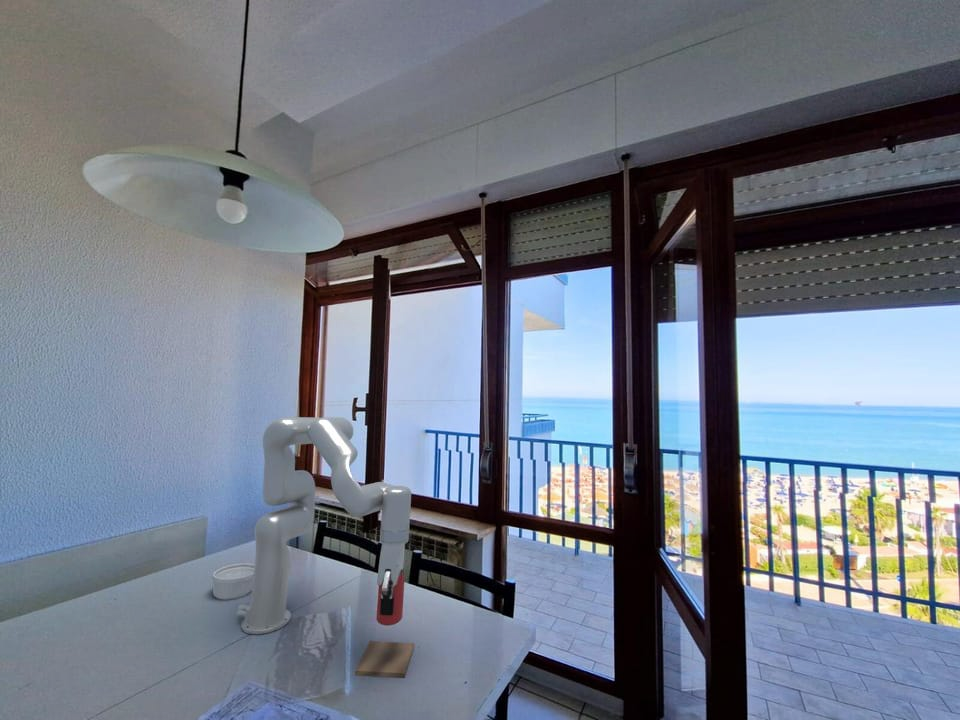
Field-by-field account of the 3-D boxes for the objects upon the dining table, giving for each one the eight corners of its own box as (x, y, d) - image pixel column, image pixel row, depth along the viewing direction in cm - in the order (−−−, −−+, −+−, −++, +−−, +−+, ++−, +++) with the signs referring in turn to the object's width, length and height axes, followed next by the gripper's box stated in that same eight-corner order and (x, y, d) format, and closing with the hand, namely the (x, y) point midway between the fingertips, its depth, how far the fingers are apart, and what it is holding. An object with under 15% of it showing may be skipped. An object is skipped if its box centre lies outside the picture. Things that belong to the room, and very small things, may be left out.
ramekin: (263, 591, 131) (266, 569, 132) (221, 606, 120) (224, 582, 121) (244, 580, 138) (246, 560, 139) (202, 594, 127) (205, 571, 128)
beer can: (395, 628, 95) (399, 577, 96) (371, 624, 96) (375, 574, 98) (406, 615, 101) (408, 567, 103) (383, 611, 102) (386, 564, 104)
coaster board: (354, 675, 91) (355, 670, 91) (369, 644, 103) (370, 641, 103) (404, 677, 91) (404, 673, 91) (413, 647, 103) (413, 643, 103)
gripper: (388, 525, 110) (384, 591, 107) (371, 545, 93) (365, 625, 90) (414, 526, 110) (410, 592, 107) (401, 546, 93) (396, 626, 90)
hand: (390, 606), depth 99 cm, fingers closed on beer can, 6 cm apart
